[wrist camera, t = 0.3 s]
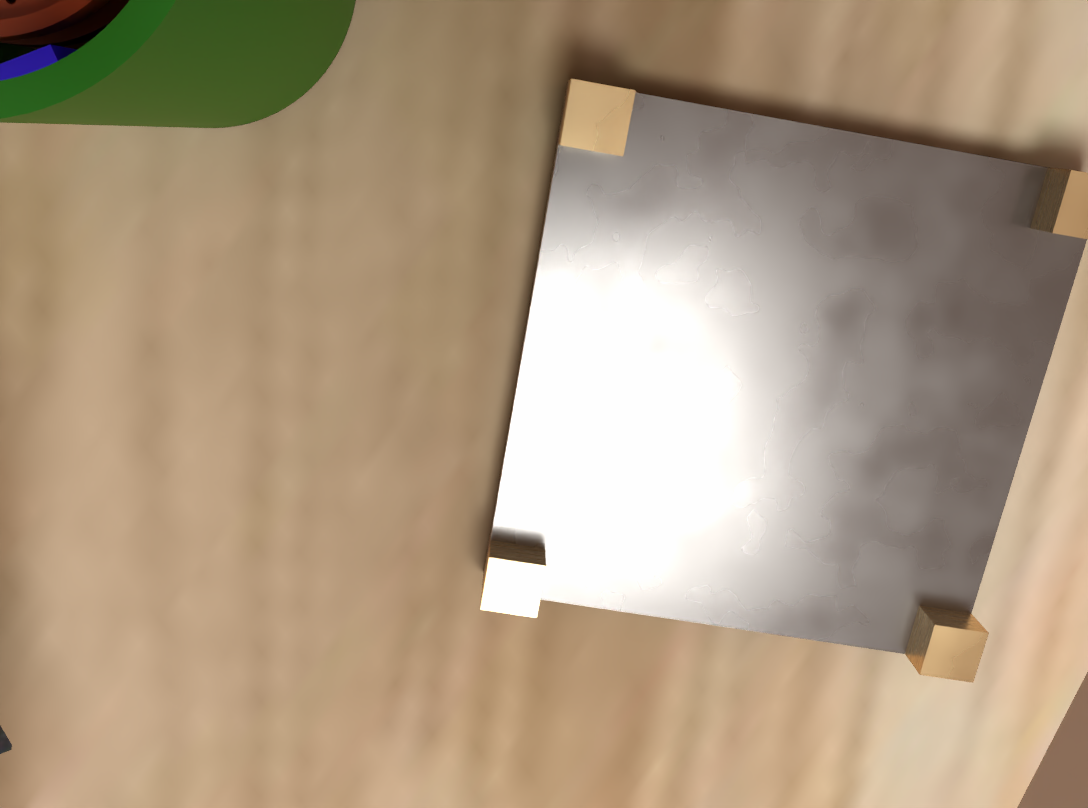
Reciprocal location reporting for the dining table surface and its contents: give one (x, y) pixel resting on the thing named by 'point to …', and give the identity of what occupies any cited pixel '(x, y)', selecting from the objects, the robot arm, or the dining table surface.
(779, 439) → the plate
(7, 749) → the dark slate chunk
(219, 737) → the dining table surface
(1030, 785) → the robot arm
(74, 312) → the dining table surface
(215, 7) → the motor
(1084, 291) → the dining table surface
